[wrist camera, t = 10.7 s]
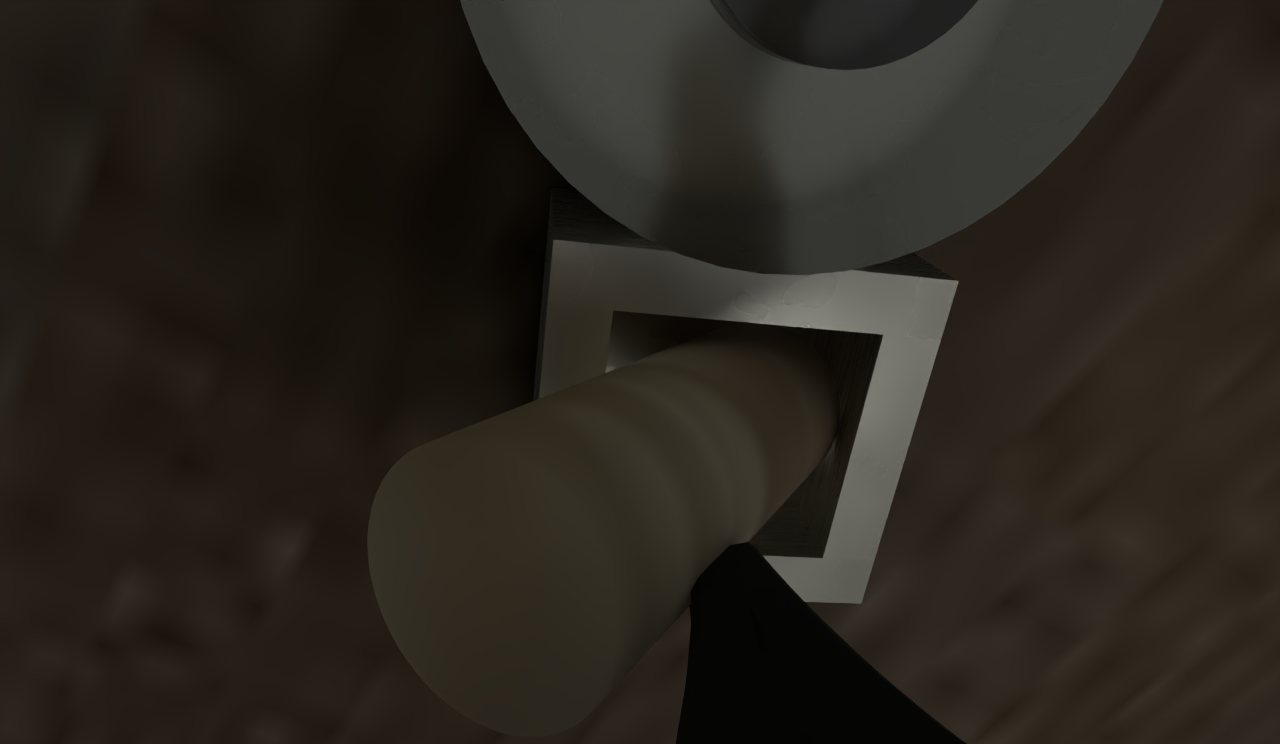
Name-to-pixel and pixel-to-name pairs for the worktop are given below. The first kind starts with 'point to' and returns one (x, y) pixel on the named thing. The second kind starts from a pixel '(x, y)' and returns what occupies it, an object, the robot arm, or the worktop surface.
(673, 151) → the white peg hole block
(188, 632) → the worktop surface
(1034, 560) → the worktop surface
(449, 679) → the key peg
